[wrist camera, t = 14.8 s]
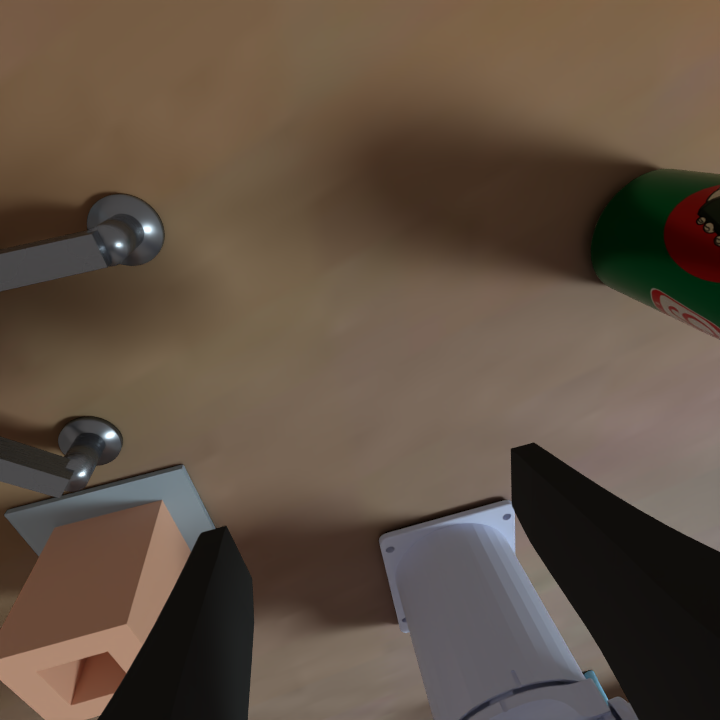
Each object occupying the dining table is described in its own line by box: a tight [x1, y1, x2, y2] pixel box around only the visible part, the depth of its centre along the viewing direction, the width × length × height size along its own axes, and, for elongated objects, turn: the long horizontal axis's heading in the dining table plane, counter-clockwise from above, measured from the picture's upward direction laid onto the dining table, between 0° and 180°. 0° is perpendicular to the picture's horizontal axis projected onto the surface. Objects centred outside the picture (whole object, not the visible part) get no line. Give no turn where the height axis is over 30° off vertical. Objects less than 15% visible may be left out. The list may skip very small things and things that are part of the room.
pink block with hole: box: [0, 500, 191, 720], centre depth 19 cm, size 5×5×6 cm
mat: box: [4, 464, 216, 556], centre depth 22 cm, size 8×8×1 cm
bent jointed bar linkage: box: [0, 194, 165, 498], centre depth 16 cm, size 10×11×3 cm
